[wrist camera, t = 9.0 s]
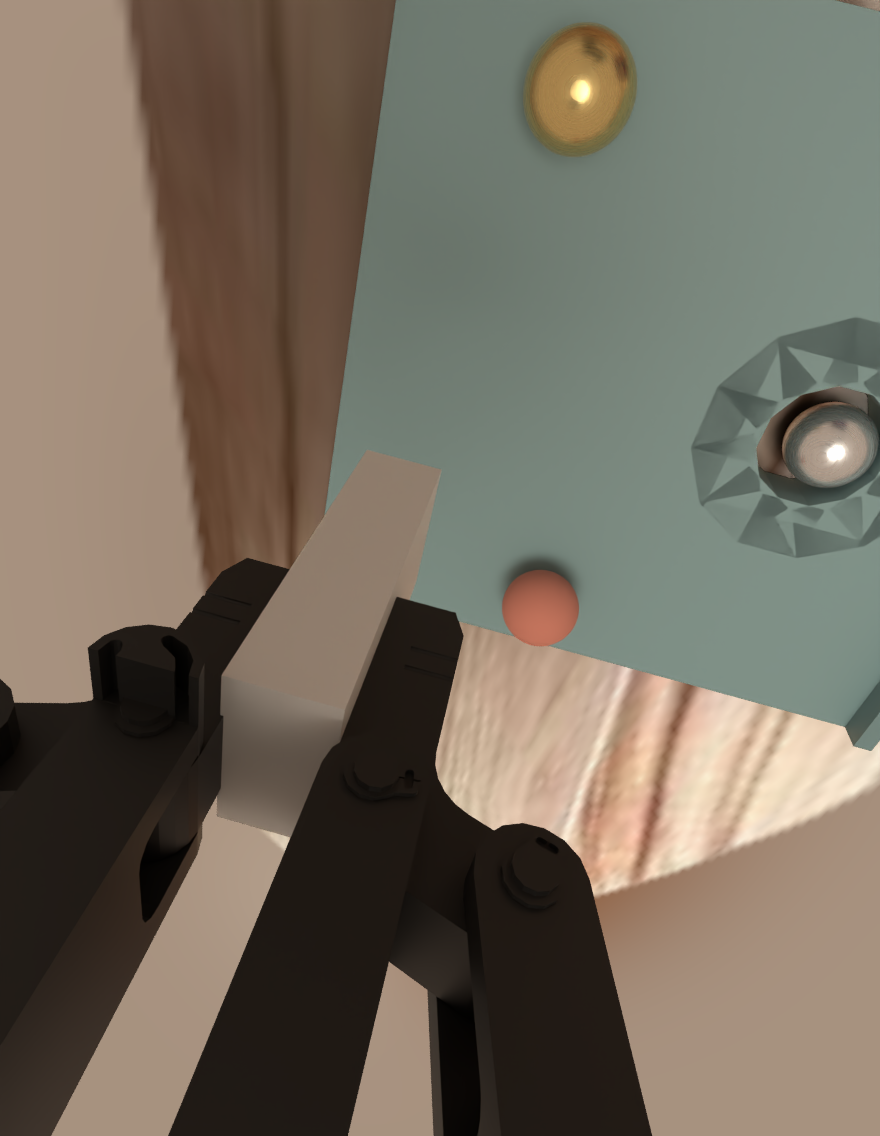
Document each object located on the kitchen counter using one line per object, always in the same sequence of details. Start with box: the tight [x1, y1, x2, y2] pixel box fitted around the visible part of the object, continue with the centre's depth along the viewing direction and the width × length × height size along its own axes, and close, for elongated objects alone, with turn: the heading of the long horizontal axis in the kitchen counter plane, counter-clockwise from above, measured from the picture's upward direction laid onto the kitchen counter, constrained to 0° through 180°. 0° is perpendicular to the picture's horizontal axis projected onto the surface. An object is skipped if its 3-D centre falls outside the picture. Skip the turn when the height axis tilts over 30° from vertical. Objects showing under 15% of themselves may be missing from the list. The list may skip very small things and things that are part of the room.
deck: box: [325, 0, 880, 751], centre depth 27 cm, size 24×26×4 cm
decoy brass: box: [523, 22, 637, 157], centre depth 20 cm, size 3×3×3 cm
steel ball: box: [782, 402, 879, 488], centre depth 27 cm, size 3×3×3 cm
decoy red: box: [502, 570, 579, 646], centre depth 30 cm, size 3×3×3 cm
